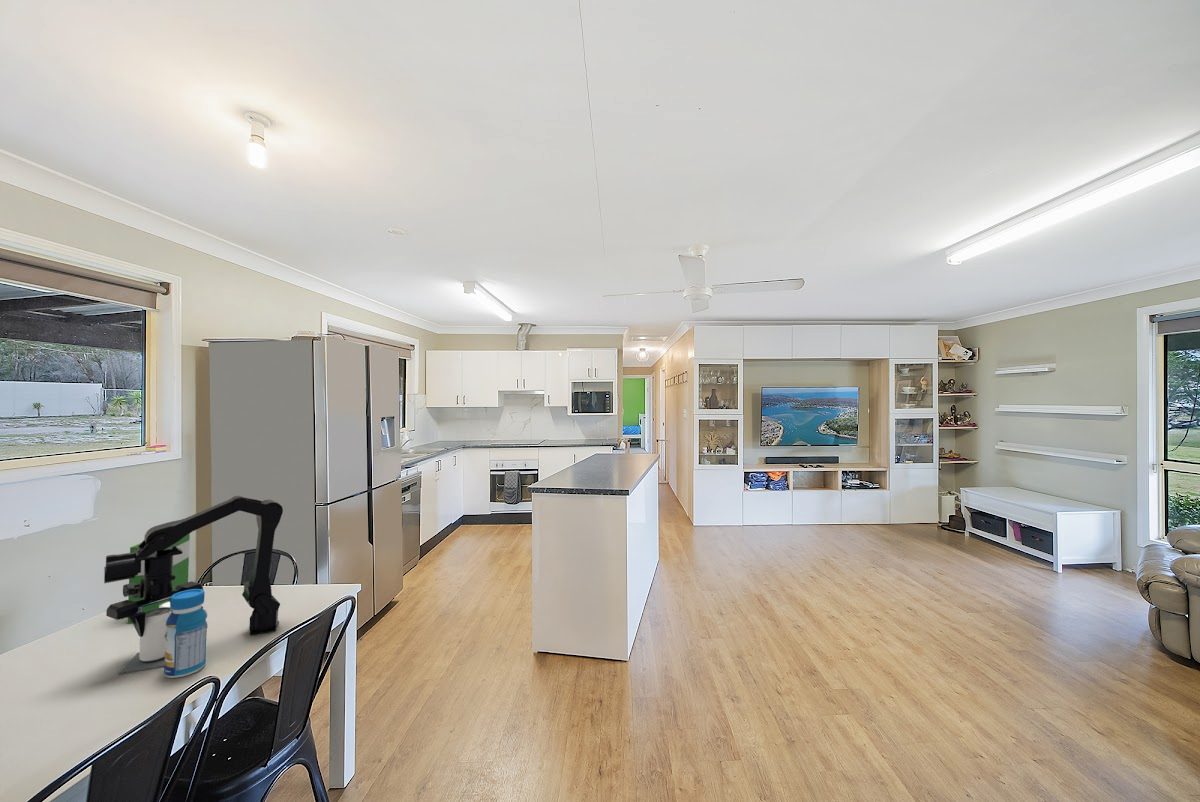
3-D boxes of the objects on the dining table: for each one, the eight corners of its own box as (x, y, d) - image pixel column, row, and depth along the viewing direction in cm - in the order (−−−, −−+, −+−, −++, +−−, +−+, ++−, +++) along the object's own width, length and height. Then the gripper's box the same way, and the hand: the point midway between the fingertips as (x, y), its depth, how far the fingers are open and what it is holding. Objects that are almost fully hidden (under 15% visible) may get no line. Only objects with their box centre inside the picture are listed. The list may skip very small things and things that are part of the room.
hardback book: (161, 601, 163) (164, 532, 164) (187, 599, 165) (189, 531, 166) (127, 624, 146) (130, 547, 147) (156, 621, 148) (159, 545, 149)
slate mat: (188, 645, 134) (188, 644, 134) (174, 665, 124) (174, 663, 124) (137, 654, 129) (137, 652, 129) (118, 674, 119) (118, 673, 119)
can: (132, 663, 123) (134, 617, 123) (150, 651, 129) (151, 607, 129) (161, 660, 124) (163, 615, 125) (177, 648, 131) (178, 605, 131)
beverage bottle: (191, 678, 118) (194, 599, 119) (154, 680, 117) (156, 600, 117) (213, 660, 127) (216, 586, 127) (178, 662, 125) (181, 587, 126)
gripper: (182, 559, 139) (180, 611, 138) (95, 580, 121) (94, 640, 121) (205, 564, 135) (203, 618, 134) (119, 587, 117) (117, 649, 117)
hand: (156, 630), depth 127 cm, fingers closed on can, 6 cm apart
